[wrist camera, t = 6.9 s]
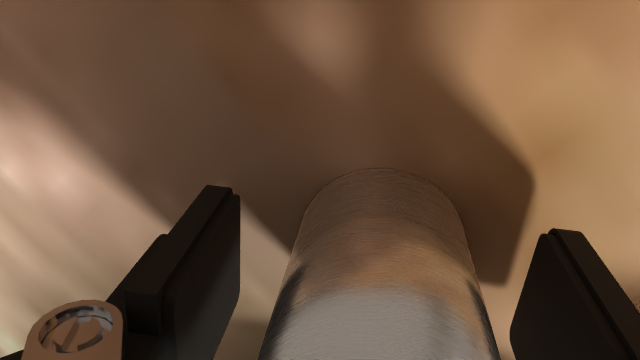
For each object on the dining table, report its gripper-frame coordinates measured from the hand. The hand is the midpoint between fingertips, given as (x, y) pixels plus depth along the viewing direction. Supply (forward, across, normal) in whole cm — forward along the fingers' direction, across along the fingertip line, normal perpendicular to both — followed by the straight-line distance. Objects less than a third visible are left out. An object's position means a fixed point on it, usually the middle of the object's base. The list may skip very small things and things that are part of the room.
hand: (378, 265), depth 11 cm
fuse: (+1, 0, 0) cm, 1 cm away
